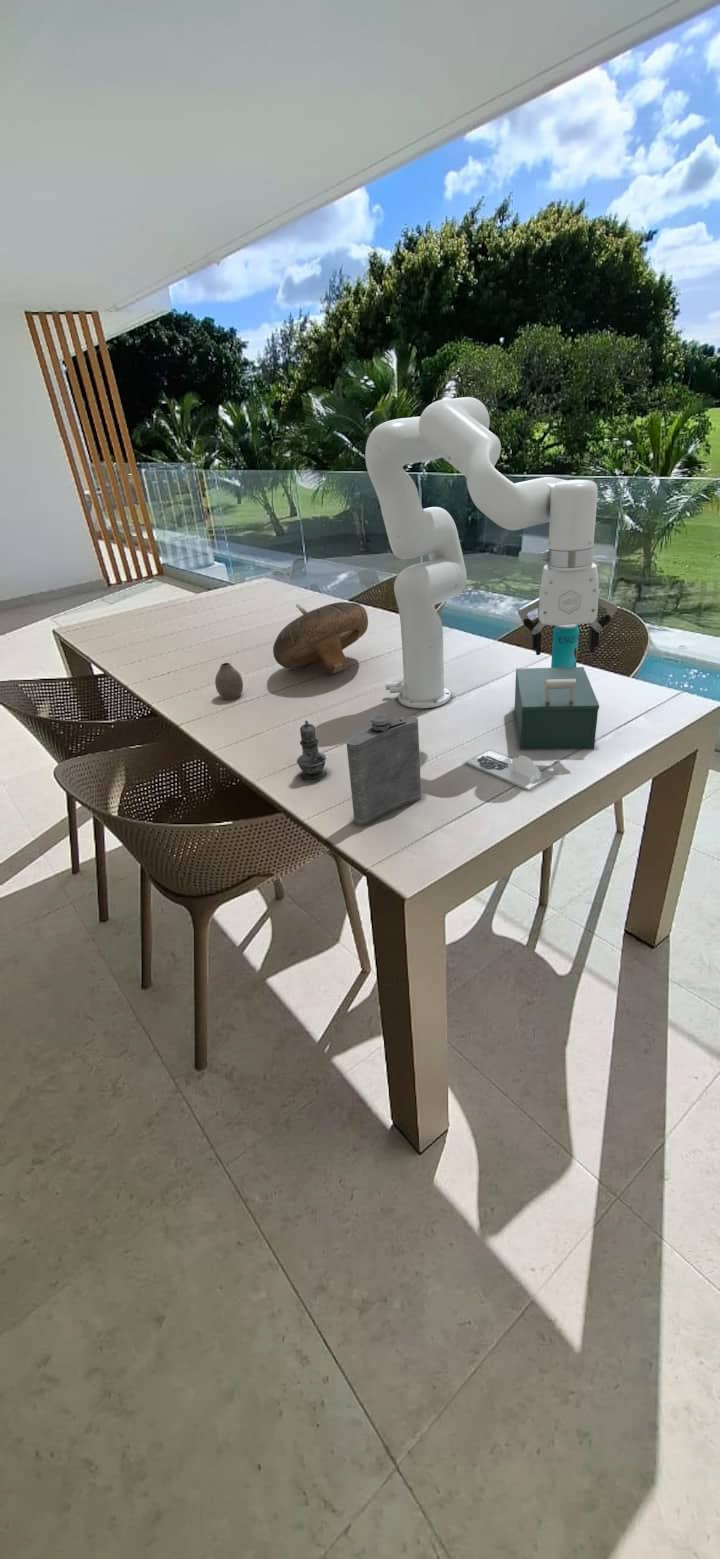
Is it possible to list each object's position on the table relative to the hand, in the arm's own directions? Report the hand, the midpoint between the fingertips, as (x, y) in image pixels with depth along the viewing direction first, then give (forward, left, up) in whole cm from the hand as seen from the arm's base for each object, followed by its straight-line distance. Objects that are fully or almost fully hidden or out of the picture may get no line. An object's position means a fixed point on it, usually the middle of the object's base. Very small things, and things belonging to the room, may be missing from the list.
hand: (564, 651), depth 125 cm
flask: (-32, -23, -20) cm, 45 cm away
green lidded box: (0, +9, -20) cm, 22 cm away
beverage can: (+5, +33, -20) cm, 39 cm away
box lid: (0, +8, -11) cm, 14 cm away
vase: (-78, +30, -20) cm, 86 cm away
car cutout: (-10, -10, -20) cm, 25 cm away
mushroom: (-56, +47, -20) cm, 76 cm away
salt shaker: (-48, -11, -20) cm, 53 cm away
